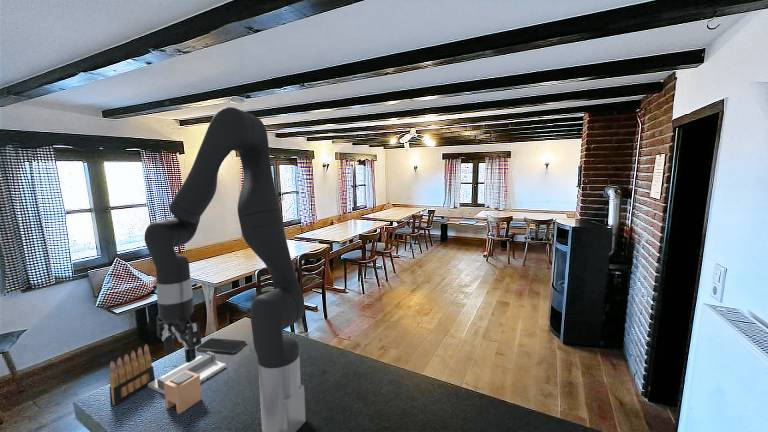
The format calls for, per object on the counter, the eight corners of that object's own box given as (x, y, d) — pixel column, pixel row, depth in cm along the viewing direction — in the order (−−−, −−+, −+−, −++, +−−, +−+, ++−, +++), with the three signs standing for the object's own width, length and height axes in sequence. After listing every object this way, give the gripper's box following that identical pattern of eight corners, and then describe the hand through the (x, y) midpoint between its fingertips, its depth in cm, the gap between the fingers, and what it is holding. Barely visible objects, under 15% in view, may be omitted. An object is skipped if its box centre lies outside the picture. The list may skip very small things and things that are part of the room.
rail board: (226, 367, 100) (225, 356, 100) (174, 398, 86) (173, 386, 86) (200, 358, 105) (199, 348, 105) (148, 387, 91) (146, 375, 91)
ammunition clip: (115, 406, 83) (110, 363, 82) (110, 405, 84) (105, 362, 83) (155, 381, 94) (151, 343, 92) (150, 380, 94) (147, 342, 93)
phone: (233, 352, 107) (194, 348, 110) (233, 355, 108) (194, 351, 110) (247, 341, 115) (210, 337, 118) (247, 343, 115) (210, 340, 118)
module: (201, 399, 86) (199, 373, 85) (179, 414, 80) (176, 387, 80) (188, 393, 88) (186, 368, 87) (166, 407, 83) (163, 381, 82)
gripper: (207, 296, 81) (211, 356, 83) (172, 288, 87) (177, 344, 89) (178, 307, 75) (183, 372, 77) (142, 297, 81) (148, 357, 83)
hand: (180, 357), depth 83 cm, fingers open, 8 cm apart
